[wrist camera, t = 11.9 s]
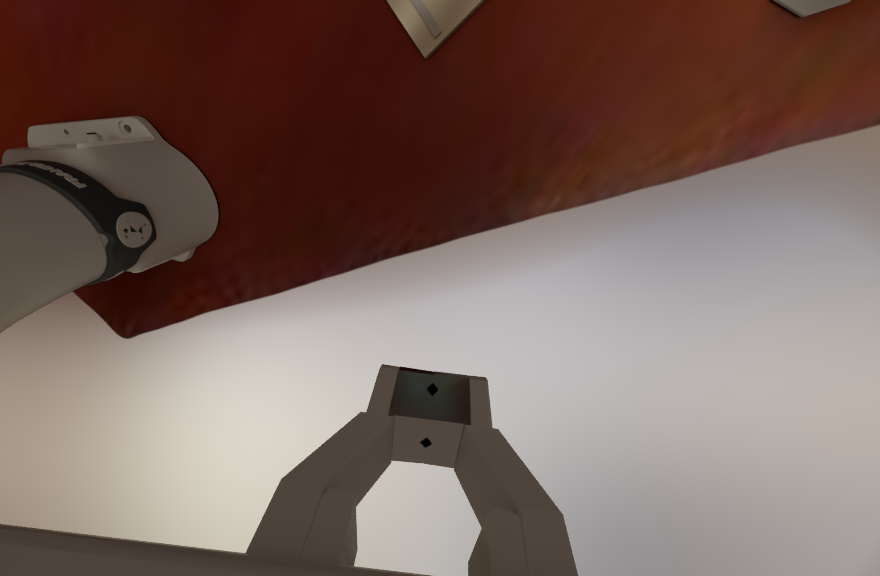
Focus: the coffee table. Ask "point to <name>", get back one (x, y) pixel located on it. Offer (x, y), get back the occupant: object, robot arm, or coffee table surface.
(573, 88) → the coffee table surface
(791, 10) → the wineglass
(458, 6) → the divided base tray
